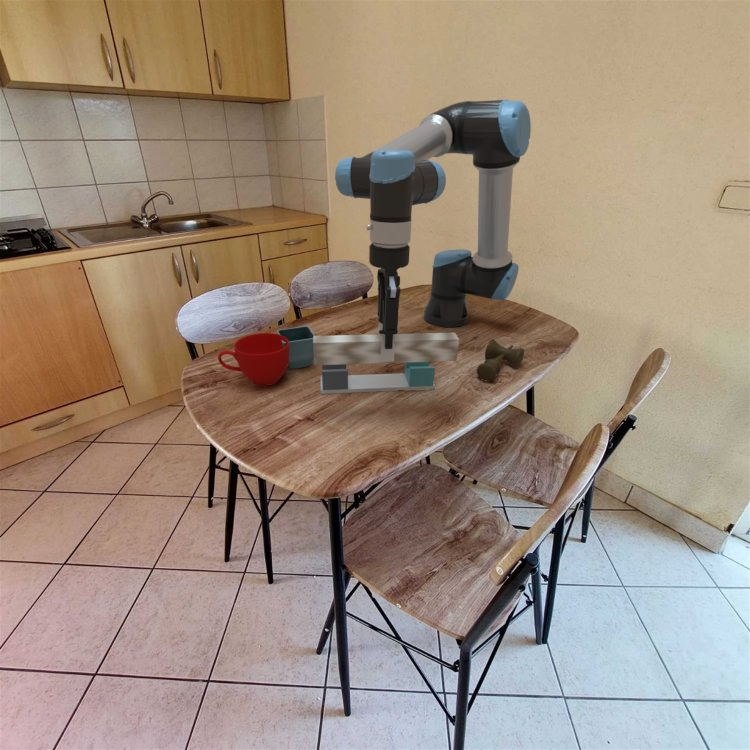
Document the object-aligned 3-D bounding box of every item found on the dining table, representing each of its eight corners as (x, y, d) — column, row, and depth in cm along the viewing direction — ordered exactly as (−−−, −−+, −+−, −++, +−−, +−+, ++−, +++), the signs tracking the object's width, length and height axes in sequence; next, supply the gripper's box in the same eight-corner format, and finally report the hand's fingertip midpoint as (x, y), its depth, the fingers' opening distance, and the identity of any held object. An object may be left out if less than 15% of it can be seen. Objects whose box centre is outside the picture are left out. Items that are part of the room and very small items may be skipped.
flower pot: (285, 374, 112) (282, 342, 108) (278, 359, 120) (275, 329, 115) (318, 368, 115) (317, 337, 111) (310, 355, 123) (308, 325, 118)
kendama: (466, 377, 114) (494, 350, 128) (501, 389, 110) (527, 359, 124) (469, 357, 111) (498, 331, 125) (505, 369, 106) (531, 340, 121)
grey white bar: (452, 353, 95) (454, 332, 93) (456, 360, 92) (459, 339, 90) (314, 357, 92) (313, 335, 90) (314, 365, 89) (313, 343, 87)
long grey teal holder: (428, 375, 113) (430, 355, 111) (434, 389, 107) (437, 367, 104) (320, 379, 110) (319, 358, 107) (320, 393, 104) (319, 371, 101)
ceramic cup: (222, 372, 112) (216, 336, 108) (288, 365, 117) (285, 330, 112) (222, 397, 102) (215, 359, 97) (294, 388, 106) (292, 351, 101)
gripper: (365, 234, 87) (364, 340, 99) (374, 254, 73) (372, 376, 84) (402, 234, 88) (397, 339, 100) (418, 253, 74) (410, 374, 85)
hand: (385, 356), depth 92 cm, fingers closed on grey white bar, 3 cm apart
